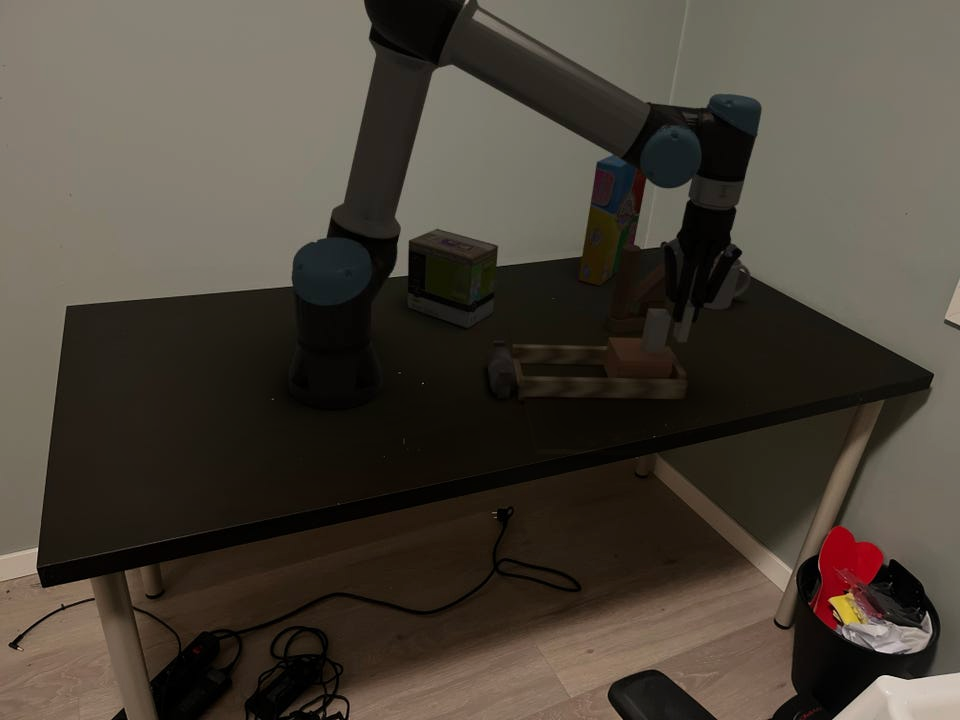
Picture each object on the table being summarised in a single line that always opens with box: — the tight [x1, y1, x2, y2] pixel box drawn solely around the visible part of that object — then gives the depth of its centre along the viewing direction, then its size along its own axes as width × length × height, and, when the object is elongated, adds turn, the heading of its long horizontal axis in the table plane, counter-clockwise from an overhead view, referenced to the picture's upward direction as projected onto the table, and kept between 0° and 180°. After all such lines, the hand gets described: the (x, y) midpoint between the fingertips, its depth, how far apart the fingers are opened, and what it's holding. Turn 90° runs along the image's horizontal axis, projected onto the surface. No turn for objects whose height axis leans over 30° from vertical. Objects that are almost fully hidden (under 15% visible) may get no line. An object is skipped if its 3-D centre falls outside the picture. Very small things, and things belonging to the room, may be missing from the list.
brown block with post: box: [603, 308, 673, 379], centre depth 121 cm, size 9×9×13 cm
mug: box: [689, 252, 751, 311], centre depth 155 cm, size 11×10×10 cm
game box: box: [578, 154, 647, 286], centre depth 162 cm, size 21×6×27 cm, turn 149°
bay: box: [485, 339, 688, 402], centre depth 122 cm, size 33×12×5 cm, turn 95°
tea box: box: [407, 228, 499, 329], centre depth 141 cm, size 15×10×15 cm, turn 58°
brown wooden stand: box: [603, 244, 668, 334], centre depth 138 cm, size 4×11×18 cm, turn 107°
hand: (679, 338), depth 120 cm, fingers closed
